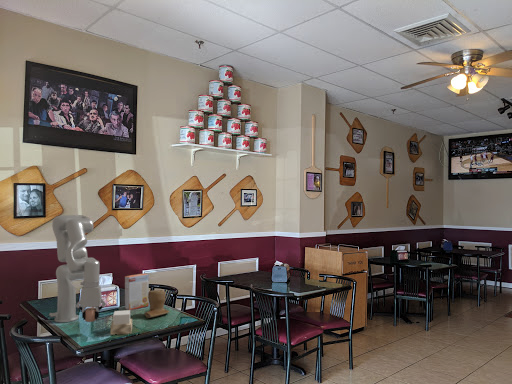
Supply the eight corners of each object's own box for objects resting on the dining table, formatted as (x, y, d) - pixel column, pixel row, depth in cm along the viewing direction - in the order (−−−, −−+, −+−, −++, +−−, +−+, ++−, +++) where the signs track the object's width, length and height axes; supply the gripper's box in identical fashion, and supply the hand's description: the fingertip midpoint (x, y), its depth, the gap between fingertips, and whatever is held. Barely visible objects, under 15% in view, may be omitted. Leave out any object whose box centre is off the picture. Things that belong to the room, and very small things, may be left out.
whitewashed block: (113, 325, 211) (113, 315, 211) (114, 320, 219) (114, 311, 219) (129, 323, 213) (129, 314, 213) (130, 319, 221) (130, 310, 221)
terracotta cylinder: (84, 322, 209) (84, 310, 209) (86, 318, 214) (86, 307, 214) (95, 321, 210) (95, 310, 210) (96, 318, 215) (96, 307, 215)
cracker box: (144, 304, 269) (144, 272, 269) (148, 306, 265) (149, 274, 265) (124, 308, 259) (124, 275, 259) (129, 310, 255) (129, 277, 255)
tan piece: (159, 310, 255) (159, 286, 255) (171, 314, 247) (172, 289, 247) (138, 316, 243) (139, 291, 243) (151, 320, 235) (151, 294, 236)
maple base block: (110, 335, 210) (110, 325, 210) (112, 329, 220) (113, 320, 220) (130, 334, 212) (130, 324, 212) (132, 328, 222) (132, 318, 222)
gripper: (72, 286, 206) (71, 322, 207) (107, 285, 210) (106, 320, 210) (75, 282, 214) (74, 317, 214) (109, 282, 218) (108, 316, 218)
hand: (90, 318), depth 212 cm, fingers closed on terracotta cylinder, 5 cm apart
